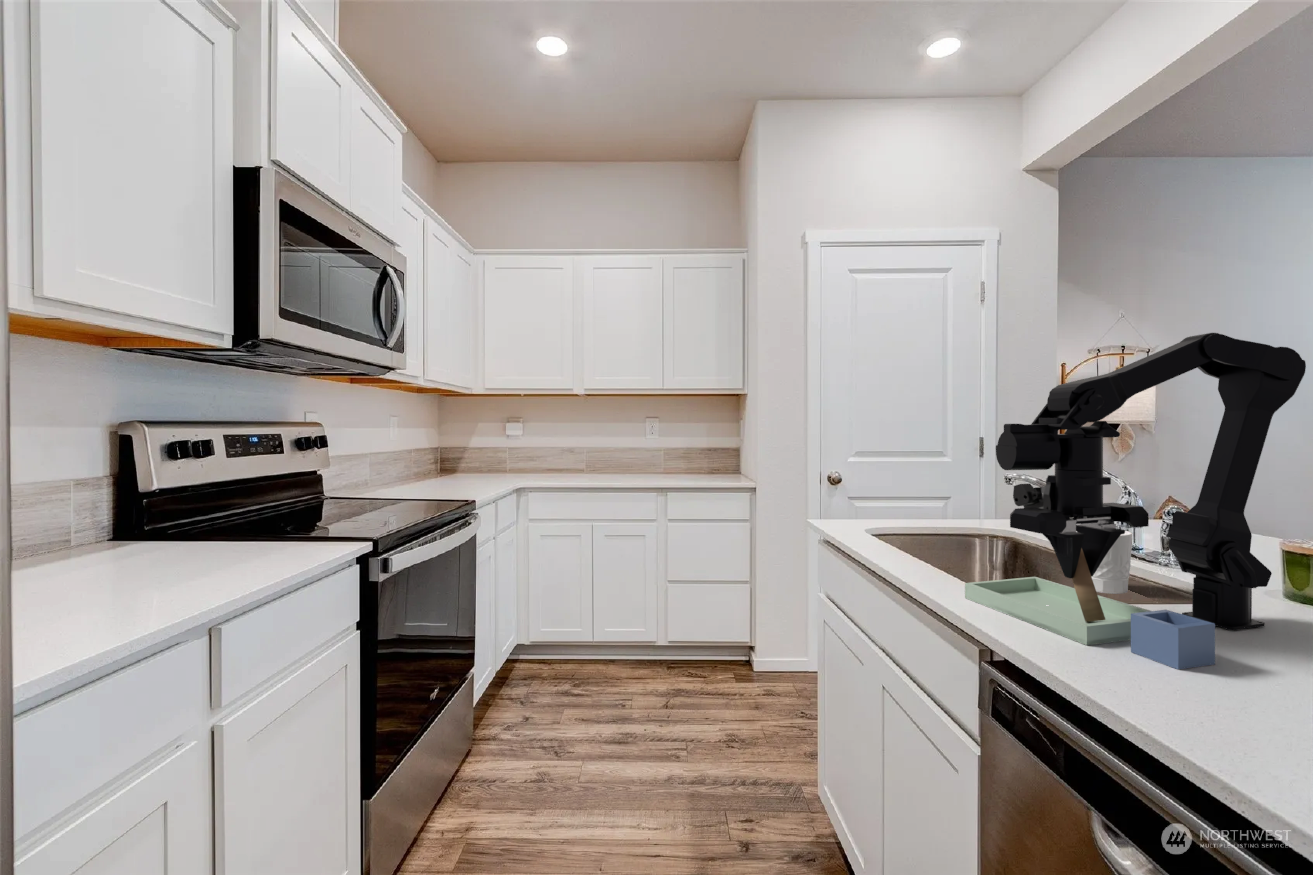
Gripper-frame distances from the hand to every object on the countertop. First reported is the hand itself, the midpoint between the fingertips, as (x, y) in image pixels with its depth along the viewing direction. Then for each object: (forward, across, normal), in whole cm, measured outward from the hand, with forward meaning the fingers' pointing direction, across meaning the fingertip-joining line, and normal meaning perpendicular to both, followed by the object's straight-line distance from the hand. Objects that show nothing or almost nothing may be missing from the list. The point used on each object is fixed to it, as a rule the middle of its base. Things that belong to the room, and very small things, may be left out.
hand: (1078, 576), depth 87 cm
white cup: (+7, -19, -12) cm, 24 cm away
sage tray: (+7, 0, -4) cm, 7 cm away
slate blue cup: (+7, +1, +14) cm, 15 cm away
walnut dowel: (+1, 0, +1) cm, 1 cm away
